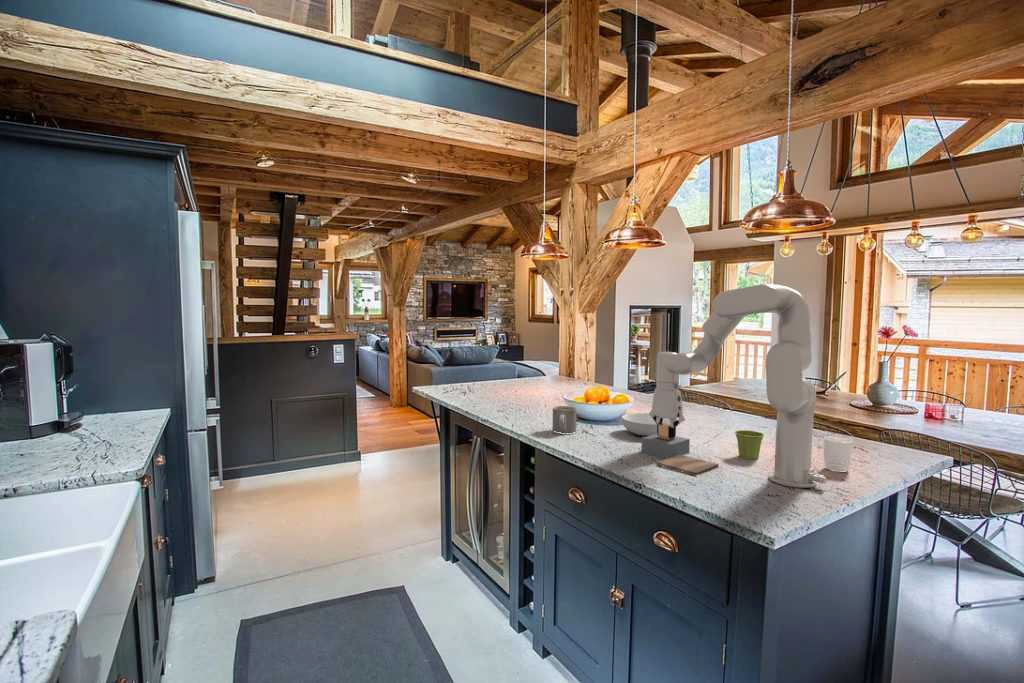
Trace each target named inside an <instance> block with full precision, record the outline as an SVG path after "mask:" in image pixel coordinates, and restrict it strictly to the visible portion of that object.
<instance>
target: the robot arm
mask: <svg viewBox="0 0 1024 683" xmlns="http://www.w3.org/2000/svg"><path fill="white" fill-rule="evenodd" d="M711 308H712V310H713V312H712V313H711V314H710V315H709V316H708V317H707V319H706V320H705V321H704V322H703V324H702V326H701V328H702V331H703V337H702V339H701V341H700V342H699V343H698V345H697V346H696V347H695V348H694V349H693V351H690V352H682V353H677V352H676V351H674V352H673V351H660V352H658V353H657V356H656V385H655V386H656V388H655V389H654V393H653V397H652V403H651V404H652V406H651V410H650V412H649V415H650V416H651V417H652V418H653V419H654V421H655V422H656V425H657V436H658V426H659V424H662V423H663V418H669V420H670V427H669V438H670V439H671V438H674V437H675V436H677V435H676V434H677V427H678V425H680V424H681V423H683V422H685V421H686V419H685V416H684V415H683V414H684V411H683V410H684V409H683V408H684V407H683V397H682V392H681V390H679V389H681V388H682V384H679V383H680V382H679V375H683V376H687V375H692V374H698V373H701V372H703V371H704V370H706V369H707V368H708V367H709V366H710V364H712V362H713V361H714V360H715V359H716V358H717V356H718V355H719V353H720V351H721V350H722V347H723V345H724V343H725V340H727V337H729V335H730V334H731V333H732V332H733V331H734V329H735V328H736V327H737V326H738V325H739V324H740V322H742V320H744V318H745V316H749V315H756V314H757V315H758V314H765V313H766V314H768V313H771V314H773V313H774V314H777V315H778V324H777V343H776V344H774V345H772V346H771V347H770V348H769V350H768V352H766V353H767V354H766V357H765V381H766V388H765V389H766V397H767V401H768V403H769V404H770V406H771V407H772V408H774V410H776V411H777V416H776V428H775V446H774V447H775V449H774V450H775V452H774V453H775V455H774V471H771V472H768V479H769V480H770V481H772V482H774V483H776V484H779V485H781V486H786V487H792V488H799V489H800V488H801V489H805V488H806V489H807V488H814V487H816V486H817V483H819V484H824V485H825V484H827V483H826V482H827V477H825V475H824V474H818V473H816V472H815V468H814V467H812V447H813V445H812V444H813V430H814V429H813V428H814V414H815V409H816V404H817V391H816V387H815V386H814V385H813V383H812V382H811V381H810V380H808V379H807V378H805V377H803V371H805V370H807V369H808V368H809V367H810V366H811V363H812V360H813V358H812V335H811V334H812V333H811V318H810V317H811V315H810V308H809V305H808V302H807V300H806V299H805V297H804V296H803V295H802V294H801V293H800V292H798V291H797V290H795V289H793V288H791V287H788V286H786V285H785V286H784V285H780V284H771V283H770V284H769V283H761V284H756V285H750V286H745V287H740V288H734V289H729V290H728V289H727V290H723V291H721V292H718V294H717V295H716V296H715V297H714V299H713V301H712V307H711Z"/></svg>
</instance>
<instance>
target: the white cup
mask: <svg viewBox="0 0 1024 683" xmlns="http://www.w3.org/2000/svg"><path fill="white" fill-rule="evenodd" d="M852 451H853V440H851V439H850V438H846V437H841V436H833V435H832V436H829V435H828V436H823V466H824V467H825V468H827V469H830V470H834V471H848V470H849V471H850V464H851V461H852V460H851V457H852ZM825 468H824V469H825ZM827 469H826V470H827Z"/></svg>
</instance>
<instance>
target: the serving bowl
mask: <svg viewBox="0 0 1024 683" xmlns="http://www.w3.org/2000/svg"><path fill="white" fill-rule="evenodd" d="M649 413H650V412H649ZM649 413H647V412H646V413H645V412H634V413H633V412H631V413H626V414H623V415H622V416H621V422H622V425H623V427H624V428H625V429H626V430H627V431H628V432H630V433H632V434H635V435H637V436H640V435H641V436H640V437H645V436H651V435H655V434H657V425H656V422H655V421H654V419H653V418H652V417H651V416H650V415H649ZM663 423H668V424H670V420H669V418H663Z"/></svg>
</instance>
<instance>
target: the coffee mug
mask: <svg viewBox="0 0 1024 683" xmlns="http://www.w3.org/2000/svg"><path fill="white" fill-rule="evenodd" d="M552 430H553V431H556V432H561V433H573V432H576V433H577V407H574V406H569V405H557V406H554V407H552ZM553 431H552V432H553Z"/></svg>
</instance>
